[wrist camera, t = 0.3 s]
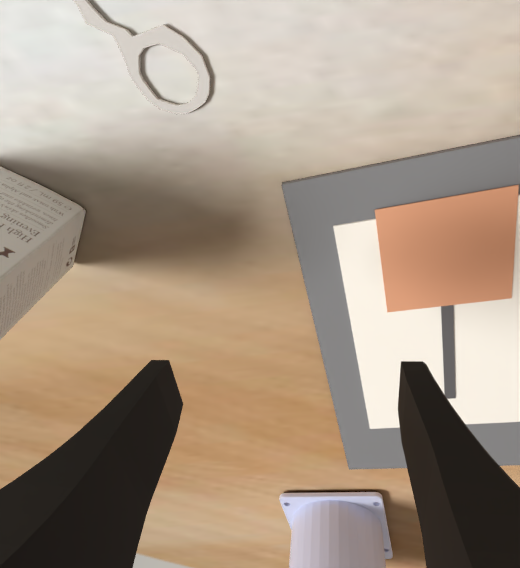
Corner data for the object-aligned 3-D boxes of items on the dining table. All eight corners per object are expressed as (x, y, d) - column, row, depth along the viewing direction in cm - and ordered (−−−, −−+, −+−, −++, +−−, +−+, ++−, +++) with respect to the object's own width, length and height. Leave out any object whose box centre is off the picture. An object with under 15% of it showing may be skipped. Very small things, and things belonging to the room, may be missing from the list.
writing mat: (566, 459, 28) (569, 466, 27) (348, 465, 31) (349, 471, 31) (631, 112, 17) (638, 115, 16) (282, 182, 20) (281, 186, 20)
